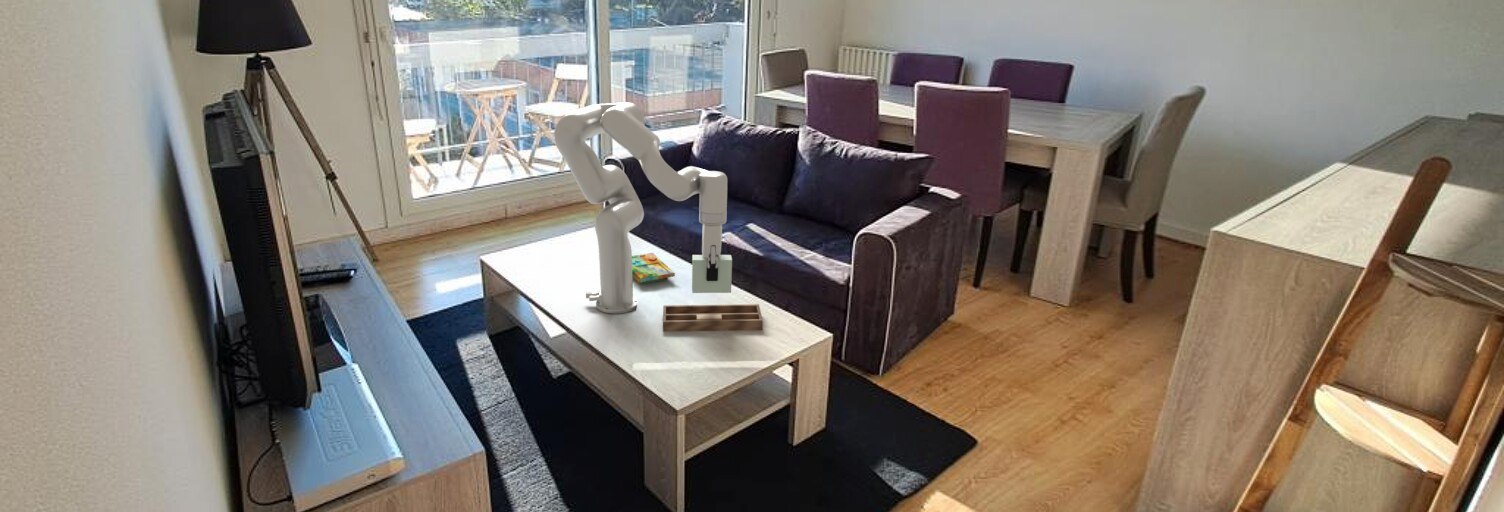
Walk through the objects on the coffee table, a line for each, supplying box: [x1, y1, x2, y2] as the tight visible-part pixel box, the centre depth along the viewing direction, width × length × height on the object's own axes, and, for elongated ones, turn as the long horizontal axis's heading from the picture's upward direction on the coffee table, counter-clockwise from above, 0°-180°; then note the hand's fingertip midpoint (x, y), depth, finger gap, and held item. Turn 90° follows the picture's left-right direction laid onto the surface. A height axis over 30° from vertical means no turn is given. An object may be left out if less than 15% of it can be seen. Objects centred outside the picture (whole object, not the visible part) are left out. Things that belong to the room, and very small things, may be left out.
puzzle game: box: [632, 252, 676, 284], centre depth 259 cm, size 12×5×20 cm
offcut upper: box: [697, 314, 722, 320], centre depth 221 cm, size 7×3×2 cm, turn 95°
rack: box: [662, 303, 764, 333], centre depth 225 cm, size 28×11×4 cm, turn 95°
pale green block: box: [691, 254, 733, 294], centre depth 222 cm, size 11×4×10 cm, turn 95°
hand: (711, 276), depth 222 cm, fingers closed on pale green block, 4 cm apart
